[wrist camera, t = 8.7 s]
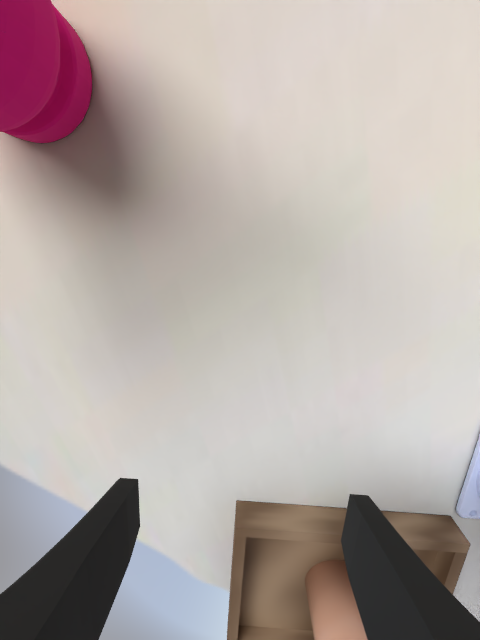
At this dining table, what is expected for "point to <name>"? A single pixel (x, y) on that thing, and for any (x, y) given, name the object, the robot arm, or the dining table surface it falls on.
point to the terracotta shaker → (333, 603)
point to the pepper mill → (41, 72)
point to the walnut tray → (313, 561)
